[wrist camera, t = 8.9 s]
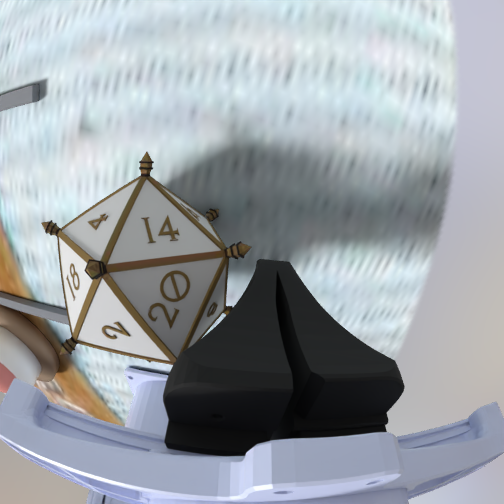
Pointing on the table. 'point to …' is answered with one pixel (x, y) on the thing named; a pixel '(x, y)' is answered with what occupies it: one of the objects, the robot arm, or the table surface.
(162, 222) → the game die
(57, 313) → the frame
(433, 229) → the table surface
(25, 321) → the dome base
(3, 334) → the dome
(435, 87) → the table surface
